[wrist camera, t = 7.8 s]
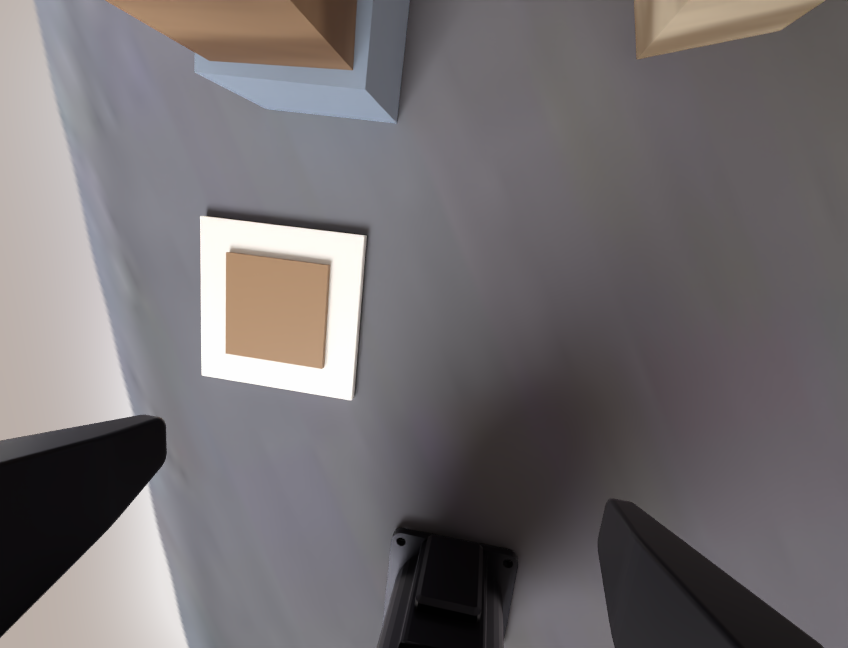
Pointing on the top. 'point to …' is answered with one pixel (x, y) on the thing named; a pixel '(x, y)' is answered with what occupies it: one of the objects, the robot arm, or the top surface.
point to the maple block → (709, 21)
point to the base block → (331, 72)
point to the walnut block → (256, 29)
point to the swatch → (281, 305)
